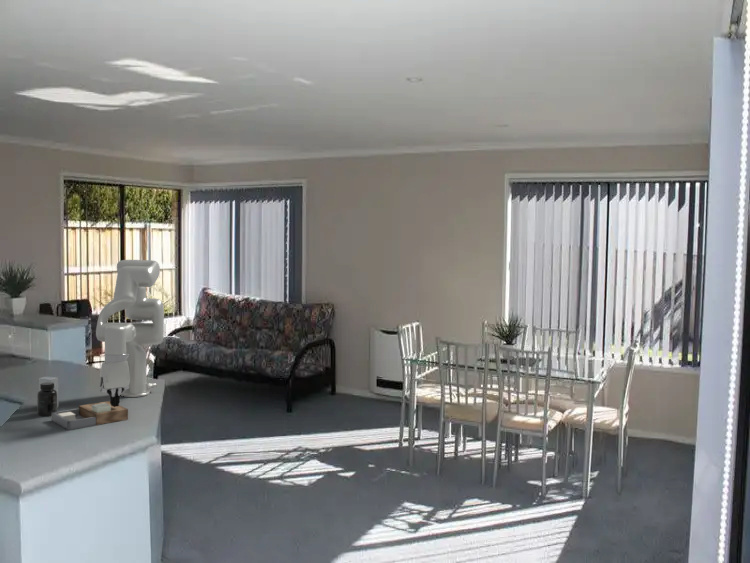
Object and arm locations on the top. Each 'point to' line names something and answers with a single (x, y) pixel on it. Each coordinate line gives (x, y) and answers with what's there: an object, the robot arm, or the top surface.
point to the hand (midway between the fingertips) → (114, 405)
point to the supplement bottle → (46, 399)
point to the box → (73, 424)
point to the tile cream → (68, 415)
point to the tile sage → (101, 408)
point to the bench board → (104, 413)
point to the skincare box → (50, 379)
